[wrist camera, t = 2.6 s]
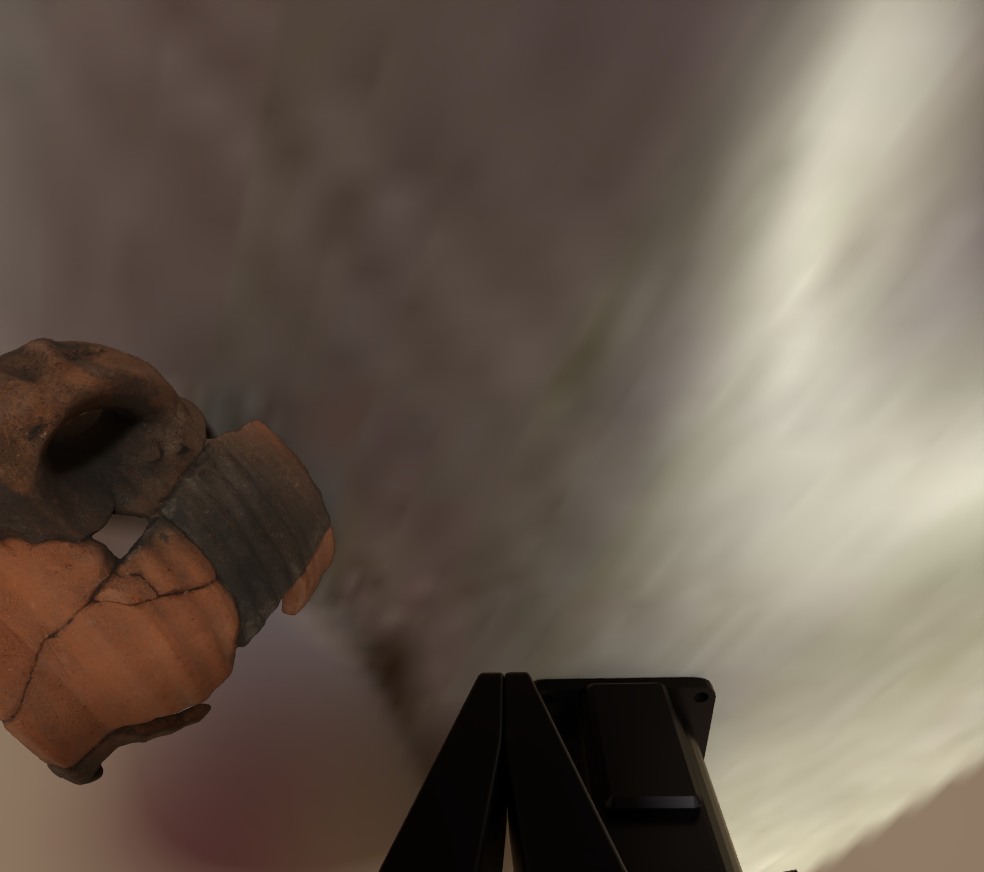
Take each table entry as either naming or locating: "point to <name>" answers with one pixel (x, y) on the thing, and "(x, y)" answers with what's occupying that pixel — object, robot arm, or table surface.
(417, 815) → the robot arm
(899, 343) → the table surface
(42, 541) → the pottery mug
